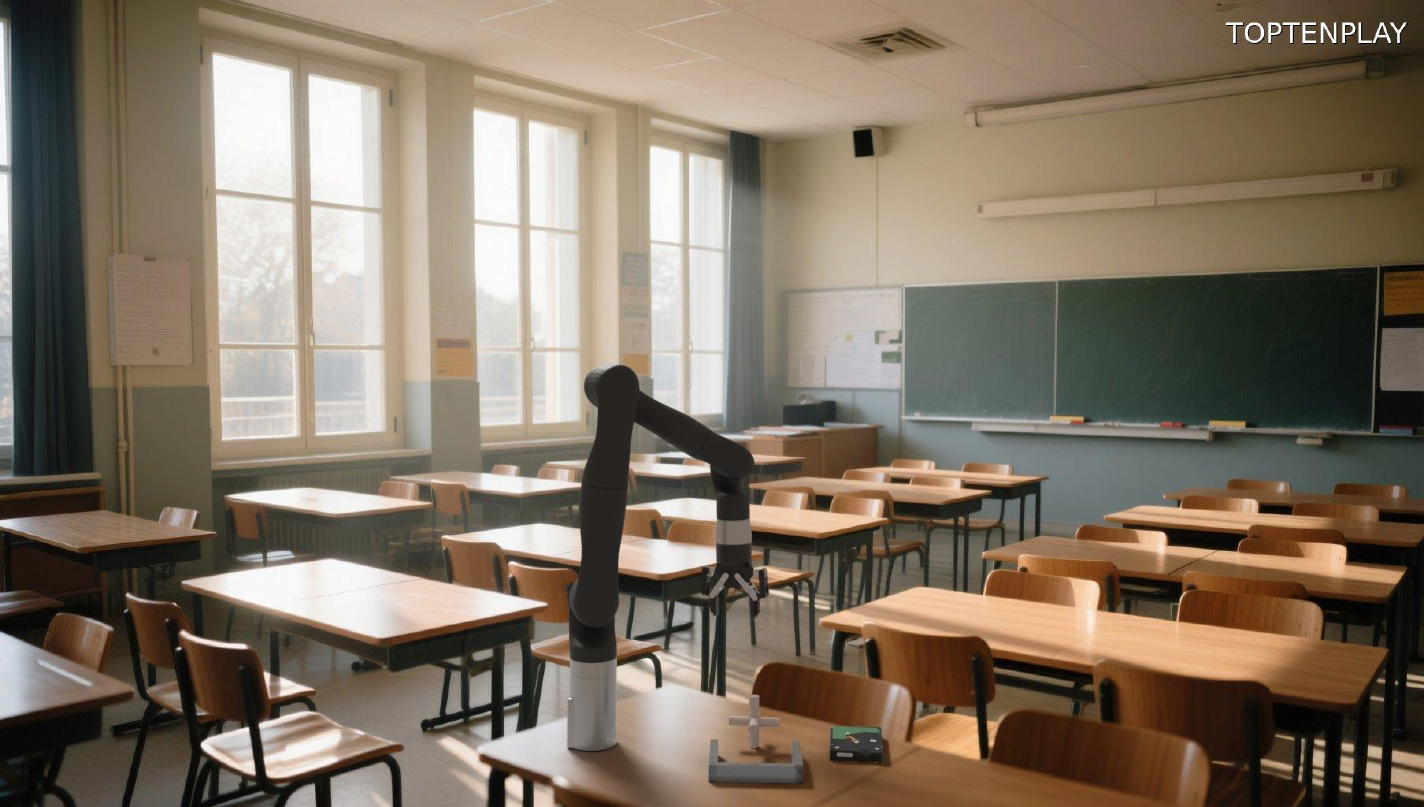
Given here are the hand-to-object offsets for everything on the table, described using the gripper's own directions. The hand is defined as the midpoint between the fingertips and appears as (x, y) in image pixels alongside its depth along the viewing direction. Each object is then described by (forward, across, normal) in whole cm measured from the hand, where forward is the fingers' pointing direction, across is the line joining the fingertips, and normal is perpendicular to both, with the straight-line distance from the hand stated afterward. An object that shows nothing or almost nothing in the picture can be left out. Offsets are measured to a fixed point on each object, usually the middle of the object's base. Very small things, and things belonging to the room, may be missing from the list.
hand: (735, 616), depth 214 cm
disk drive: (+24, +27, -7) cm, 36 cm away
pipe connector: (+23, +8, -13) cm, 27 cm away
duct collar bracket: (+22, +11, -24) cm, 35 cm away
